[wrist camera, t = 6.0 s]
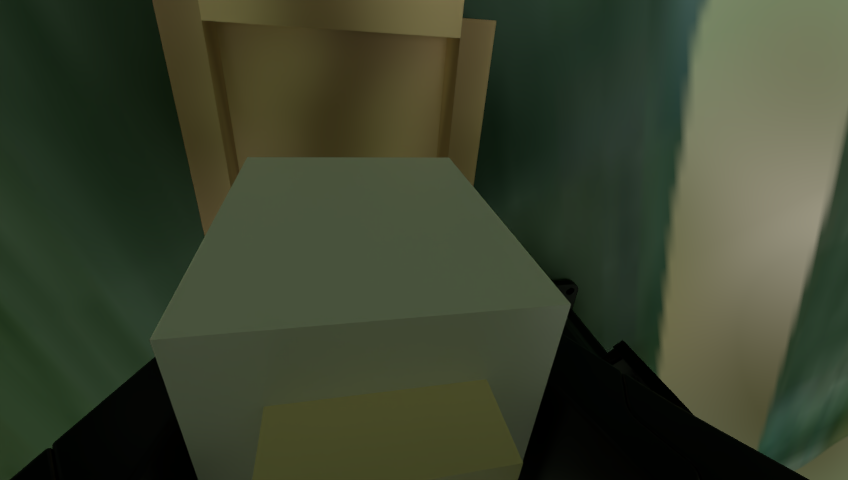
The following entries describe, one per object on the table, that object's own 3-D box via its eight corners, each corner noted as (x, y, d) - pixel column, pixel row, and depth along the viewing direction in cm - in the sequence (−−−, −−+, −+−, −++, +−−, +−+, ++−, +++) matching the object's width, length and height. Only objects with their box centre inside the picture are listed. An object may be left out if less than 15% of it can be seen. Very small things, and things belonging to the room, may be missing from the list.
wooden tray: (475, 1, 15) (499, 0, 13) (446, 255, 21) (460, 282, 19) (173, -27, 13) (144, -33, 11) (230, 266, 19) (218, 299, 17)
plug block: (449, 157, 9) (631, 377, 3) (430, 335, 11) (522, 619, 6) (247, 157, 8) (92, 448, 3) (276, 350, 10) (225, 698, 5)
